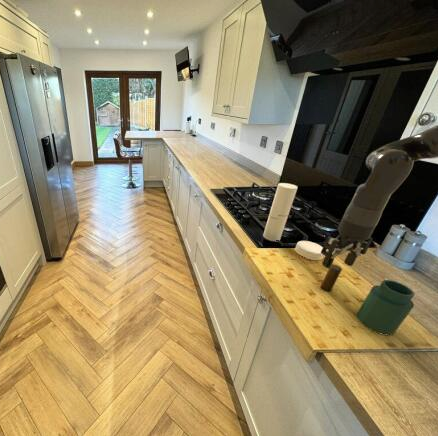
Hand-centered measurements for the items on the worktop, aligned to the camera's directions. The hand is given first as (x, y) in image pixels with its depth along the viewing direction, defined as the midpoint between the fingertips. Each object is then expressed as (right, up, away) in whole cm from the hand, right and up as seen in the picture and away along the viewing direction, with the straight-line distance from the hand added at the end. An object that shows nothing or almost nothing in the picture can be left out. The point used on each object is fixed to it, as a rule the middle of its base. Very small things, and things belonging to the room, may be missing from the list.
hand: (336, 265), depth 74 cm
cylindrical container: (-3, +6, +34) cm, 35 cm away
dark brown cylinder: (0, -9, +4) cm, 10 cm away
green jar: (+5, -15, -8) cm, 17 cm away
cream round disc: (+7, 0, +23) cm, 24 cm away
